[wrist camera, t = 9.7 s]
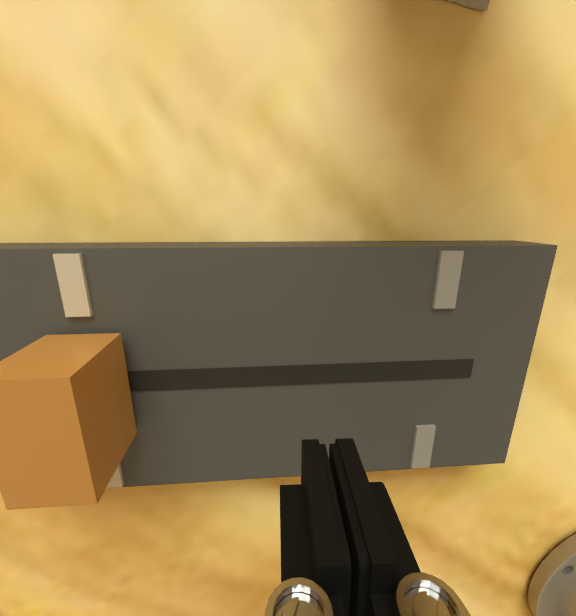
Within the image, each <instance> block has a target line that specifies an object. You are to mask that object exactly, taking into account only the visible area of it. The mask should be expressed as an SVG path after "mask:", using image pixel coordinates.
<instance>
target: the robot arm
mask: <svg viewBox="0 0 576 616" xmlns="http://www.w3.org/2000/svg"><path fill="white" fill-rule="evenodd" d="M280 525H281V584H280V585H278V586H277V587H276V588H275V589H274V591H273V592H272V594H271V596H270V597H269V600H268V603H267V607H266V610H265V616H471V615H470V614H469V612H468V610H467V609H466V607H465V606H464V604H463V602H462V601H461V599H460V598H459V597H458V596H457V594H456V593H455V592H454V590H453V589H452V588H450V587H449V586H448V585H447V584H446V583H445V582H444V581H442V580H440V579H438V578H437V577H435V576H433V575H430V574H426V573H423V572H420V569H419V567H418V564H417V562H416V560H415V557H414V555H413V552H412V550H411V548H410V545H409V543H408V540H407V538H406V536H405V533H404V531H403V528H402V526H401V524H400V521H399V519H398V516H397V514H396V511H395V509H394V507H393V504H392V502H391V499H390V497H389V495H388V492H387V490H386V488H385V486H384V484H383V483H382V482H369V481H368V478H367V475H366V473H365V470H364V467H363V464H362V462H361V459H360V456H359V453H358V451H357V448H356V445H355V442H354V440H353V438H342V439H336V440H335V443H332V444H330V445H329V458H328V454H327V449H326V445H325V444H319V440H318V439H305V440H302V450H301V485H280ZM528 605H529V608H530V610H531V613H532V615H533V616H576V533H575V534H574V535H572V536H570V537H569V538H567V539H566V540H564V541H563V542H562V543H561V544H559V545H558V546H557V547H556V548H554V549H553V550H552V551H551V552H550V553H549V554H548V555H547V556H546V558H545V559H544V560H543V561H542V562H541V564H540V565H539V567H538V568H537V570H536V571H535V573H534V575H533V577H532V580H531V582H530V585H529V590H528Z"/></svg>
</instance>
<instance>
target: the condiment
mask: <svg viewBox="0 0 576 616" xmlns="http://www.w3.org/2000/svg"><path fill="white" fill-rule="evenodd" d="M446 1H449V2H455V3H458V4H459V5H462V6H466V7H469V8H474V9H477V10H486V11H487V8H488V4H489V0H446Z"/></svg>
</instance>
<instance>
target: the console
mask: <svg viewBox="0 0 576 616" xmlns="http://www.w3.org/2000/svg"><path fill="white" fill-rule="evenodd" d="M556 249H557V245H549V244H540V243H532V242H523V241H346V242H149V243H0V361H2V360H3V359H5V358H7V357H9V356H10V355H12V354H14V353H16V352H17V351H19V350H21V349H23V348H24V347H26V346H28V345H30V344H31V343H33V342H35V341H36V340H38V339H40V338H42V337H43V336H45V335H65V334H102V333H121V336H122V342H123V349H124V355H125V361H126V367H127V374H128V380H129V386H130V392H131V399H132V405H133V411H134V417H135V424H136V430H137V434H136V435H135V437H134V439H133V441H132V443H131V444H130V446H129V448H128V450H127V451H126V453H125V455H124V457H123V459H122V460H121V462H120V464H119V466H118V467H117V469H116V471H115V473H114V475H113V476H112V478H111V480H110V482H109V484H108V485H107V487H106V488H114V487H130V486H146V485H162V484H178V483H194V482H210V481H226V480H241V479H257V478H273V477H289V476H301V450H302V440H305V439H318V440H319V444H325V445H326V449H327V454H328V458H329V445H330V444H332V443H335V440H336V439H342V438H353V440H354V442H355V445H356V448H357V451H358V453H359V456H360V459H361V462H362V464H363V467H364V470H365V472H368V471H384V470H400V469H416V468H432V467H448V466H464V465H480V464H495V463H505V459H506V455H507V451H508V447H509V442H510V438H511V434H512V430H513V426H514V422H515V418H516V414H517V410H518V405H519V401H520V397H521V393H522V389H523V385H524V381H525V377H526V373H527V368H528V364H529V360H530V356H531V352H532V348H533V344H534V340H535V336H536V331H537V327H538V323H539V319H540V315H541V311H542V307H543V303H544V299H545V294H546V290H547V286H548V282H549V278H550V274H551V270H552V266H553V262H554V257H555V253H556Z"/></svg>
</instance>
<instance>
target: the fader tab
mask: <svg viewBox="0 0 576 616" xmlns="http://www.w3.org/2000/svg"><path fill="white" fill-rule="evenodd" d="M136 434H137V430H136V424H135V417H134V411H133V405H132V399H131V392H130V386H129V380H128V374H127V367H126V361H125V355H124V349H123V342H122V336H121V333H102V334H65V335H45V336H43V337H42V338H40V339H38V340H36V341H35V342H33V343H31V344H30V345H28V346H26V347H24V348H23V349H21V350H19V351H17V352H16V353H14V354H12V355H10V356H9V357H7V358H5V359H3V360H2V361H0V490H1V493H2V496H3V499H4V502H5V505H6V509H7V510H11V509H26V508H41V507H56V506H71V505H86V504H97V503H98V501H99V500H100V498H101V496H102V494H103V492H104V491H105V489H106V487H107V485H108V484H109V482H110V480H111V478H112V476H113V475H114V473H115V471H116V469H117V467H118V466H119V464H120V462H121V460H122V459H123V457H124V455H125V453H126V451H127V450H128V448H129V446H130V444H131V443H132V441H133V439H134V437H135V435H136Z"/></svg>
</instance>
